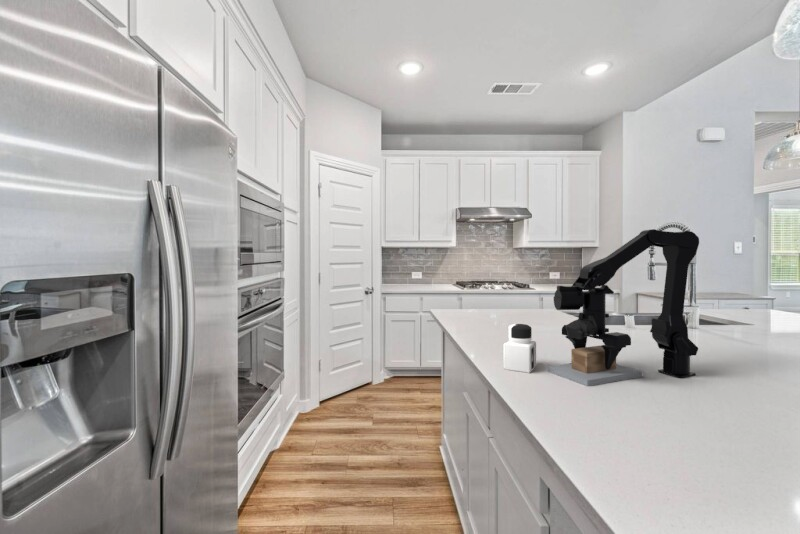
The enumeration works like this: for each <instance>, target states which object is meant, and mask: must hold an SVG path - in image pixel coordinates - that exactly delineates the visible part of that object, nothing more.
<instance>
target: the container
mask: <svg viewBox="0 0 800 534" xmlns="http://www.w3.org/2000/svg"><path fill="white" fill-rule="evenodd" d="M507 328H508V329H507V330H508V340H507V341H506V342H505V343H503V353H502V354H503V370H506V371H512V372H519V373H526V374H530V373H531V372H532V371H533V370H534V369H535V368H536V367H537V342H536V341H534V340H532V327H531V326H530V325H529V324H525V323H512V324H510V325H508V327H507Z"/></svg>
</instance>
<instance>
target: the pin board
mask: <svg viewBox="0 0 800 534" xmlns="http://www.w3.org/2000/svg"><path fill="white" fill-rule="evenodd" d="M547 372H548V373H551V374H553V375H556V376H559V377H561V378H564V379H566V380H569V381H572V382H575V383H577V384H580V385H582V386H585V387H592V386H596V385H603V384H607V383H608V384H609V383H614V382H618V381H626V380H631V379H637V378H642V377H643V371H642V370H639V369H636V368H632V367H629V366H625V365H622V364H618V363H616V369H614V370H607V371H601V372H595V373H589V374H586V373H583V372H581V371H578V370H575V369H572V362H569V363H562V364H555V365H549V366H547Z"/></svg>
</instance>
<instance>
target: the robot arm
mask: <svg viewBox="0 0 800 534" xmlns="http://www.w3.org/2000/svg"><path fill="white" fill-rule="evenodd" d="M699 245H700V237H699V236H698V235H697V234H696V233H695V232H693V231H690V230H686V231H667V230H665V231H664V230H658V229H645V230H641V232H640V233H638V235H636V236H634V237H633V238H632V239H630V240H629V241H628V242H625V244H623V245H622V246H620V247H619V248H617V249H616V250H615V251H613V252H611V253H610V254H609V255H607V256H605V257H603V258H600V259H598V260H595V261H593V262H590V263H588V264H586V265H584V266H583V267H582V268H581V269H580V272H579V276H578V277H577V279H576V280H574V282H573V284H572V285H570V286H569V285H567V286H565V285H556V290H555V292H554V296H553V305H554V307H555V309H556V310H557V311H578V310H580V309H581V308H582V312H579V314H578V318H577V319H575V320H573V321H571V322H569V323H568V324H564V325H563V326H562V328H561V335H563V336H564V337H565V338H566V339H568V340H569V341H570V342H571V343H572V345H573V349H576V348H584V347H587V341H588V338H593V339H597V340H601V341H602V343H603V344H601V345H600V346H602V347H603V349H604V350H605V368H606V369H607V370H608V369H610V368H611V366H612V364H613V362H614V360H615V358H616V359H617V356H618V355H619V353H620V352H621V351H622V350H623V349H624V348H626V347H627V346H631V345H632V337H631V336H630V335H629V334H627V333H624V332H623V333H622V332H617V331H616V332H609V331H610V329H609V328H607V327H606V319H607V318H609V317H610V316H609V315H610V314H609V313H608V312H607V313H606V295H609V294H610V295H613V294H614V290H612V289H611V288H610V287H609V286H608V284H607V283H608V282H609V281H611V279H612V278H614V276H615V275H616V273H617V271H619V270H620V268H621V267H623V266H624V265H626V264H627V263H629V262H630V261H632V260H633V259H635V258H636V257H637V256H639V255H640V254H642V253H643V252H645V251H646V250H647V249H649V248H651V247H652V246H653V247H657V248H662V255H663V257H664V259H665V261H666V271H665V280H664V289H663V298H662V308H661V314H660V315H659V316H658V318H655V317H654V318H652V319H651V329H650V330H649V332H650V333H651V337H652V339H653V340H654V341H655V343H656V344H657V347H658V349H661V350H664V351H663V357H662V368H661V369H657V372H658V373H662V374H665V375H669V376H673V377H677V378H680V379H683V378H687V377H694V376H696V375H697V374H696V373H695V372H691V356H697V354H698V351H699V347H698V346H697V345H696V344H695V343H694V342H693V341H692V340H691V339H689V329H688V328H689V327H688V325H687V322H686V321H685V318H684V309H685V298H686V291H687V290H686V289H687V282H688V281H687V280H688V273H689V266H690V263H691V262H692V261H693V259H694V258H695V256H696V255H697V252H698V249H699Z"/></svg>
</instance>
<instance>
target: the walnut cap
mask: <svg viewBox="0 0 800 534" xmlns="http://www.w3.org/2000/svg"><path fill="white" fill-rule="evenodd" d="M571 363H572V369H575V370H578V371H581V372H583V373H586V374H589V373H595V372H601V371H607V369H606V368H605V350H604V349H603V347H602V346H601V345H593V346H586V347H584V348H576V349H575V348H571ZM616 364H617V357H616V358H615V360H614V362H613V364H612V366H611V368H610V369H608V370H614V369H616Z"/></svg>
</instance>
